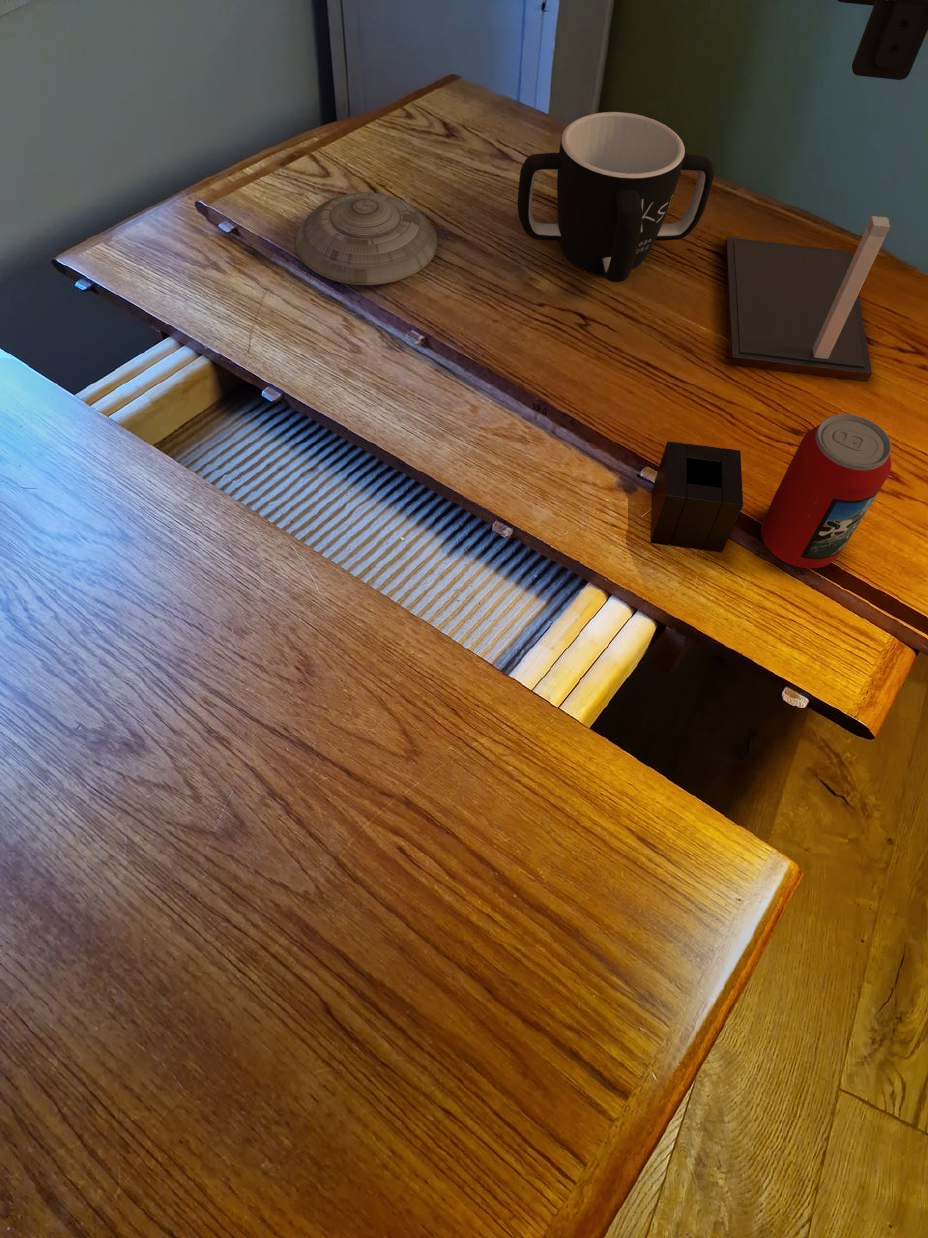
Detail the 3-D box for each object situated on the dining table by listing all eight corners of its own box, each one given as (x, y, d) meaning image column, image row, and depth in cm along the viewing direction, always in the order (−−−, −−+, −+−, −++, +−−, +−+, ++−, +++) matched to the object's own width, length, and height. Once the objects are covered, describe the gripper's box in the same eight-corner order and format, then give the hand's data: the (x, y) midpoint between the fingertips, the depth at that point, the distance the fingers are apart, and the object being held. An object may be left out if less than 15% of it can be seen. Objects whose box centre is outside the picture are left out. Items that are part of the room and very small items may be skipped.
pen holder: (720, 499, 78) (740, 450, 73) (722, 553, 74) (743, 505, 69) (651, 490, 78) (667, 440, 73) (650, 543, 75) (666, 495, 70)
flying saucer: (453, 226, 99) (454, 178, 94) (415, 308, 91) (415, 260, 86) (324, 202, 100) (319, 154, 96) (275, 281, 92) (268, 232, 88)
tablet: (847, 259, 98) (851, 249, 97) (868, 381, 87) (873, 372, 86) (724, 245, 99) (727, 235, 98) (729, 364, 88) (732, 355, 87)
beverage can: (822, 587, 73) (886, 487, 63) (745, 551, 74) (794, 448, 65) (848, 533, 76) (912, 430, 66) (774, 500, 78) (825, 394, 68)
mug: (603, 319, 91) (625, 208, 81) (498, 244, 97) (506, 133, 87) (708, 260, 97) (740, 150, 87) (602, 193, 104) (621, 84, 94)
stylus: (826, 350, 88) (888, 217, 76) (827, 359, 87) (890, 226, 75) (812, 348, 88) (871, 215, 76) (813, 357, 87) (873, 224, 75)
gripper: (1167, -329, 35) (954, 115, 50) (1064, -407, 45) (910, -17, 59) (974, -345, 36) (817, 100, 50) (913, -419, 45) (796, -28, 60)
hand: (868, 36), depth 55 cm, fingers open, 9 cm apart
